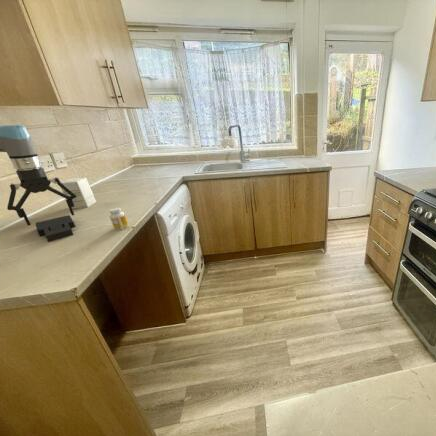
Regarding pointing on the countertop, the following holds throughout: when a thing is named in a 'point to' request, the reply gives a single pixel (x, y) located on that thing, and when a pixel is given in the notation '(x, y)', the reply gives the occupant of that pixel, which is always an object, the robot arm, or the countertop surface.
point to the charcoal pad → (54, 224)
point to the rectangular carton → (79, 192)
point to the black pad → (58, 233)
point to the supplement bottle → (118, 219)
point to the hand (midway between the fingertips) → (52, 219)
